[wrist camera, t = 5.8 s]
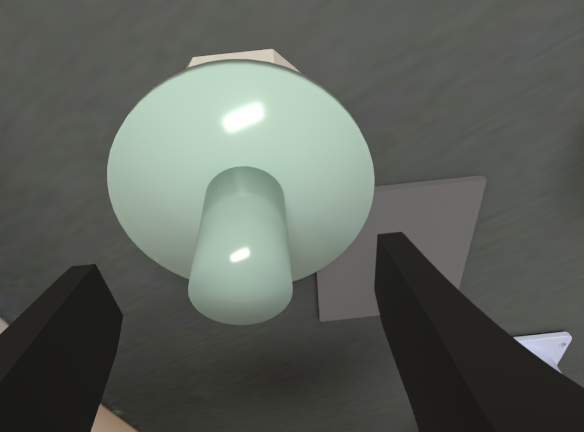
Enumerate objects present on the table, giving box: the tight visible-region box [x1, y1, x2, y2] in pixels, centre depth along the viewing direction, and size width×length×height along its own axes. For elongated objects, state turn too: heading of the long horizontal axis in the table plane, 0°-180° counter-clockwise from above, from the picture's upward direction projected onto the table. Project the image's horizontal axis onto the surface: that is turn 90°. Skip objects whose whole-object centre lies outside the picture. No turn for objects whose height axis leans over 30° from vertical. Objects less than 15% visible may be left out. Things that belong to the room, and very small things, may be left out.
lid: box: [107, 59, 374, 325], centre depth 12 cm, size 9×9×5 cm
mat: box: [316, 175, 487, 322], centre depth 21 cm, size 9×8×1 cm
